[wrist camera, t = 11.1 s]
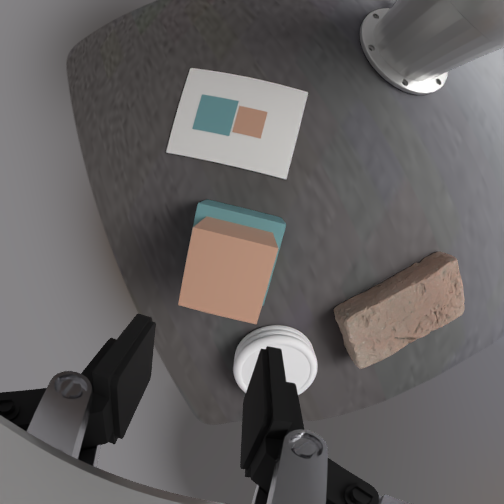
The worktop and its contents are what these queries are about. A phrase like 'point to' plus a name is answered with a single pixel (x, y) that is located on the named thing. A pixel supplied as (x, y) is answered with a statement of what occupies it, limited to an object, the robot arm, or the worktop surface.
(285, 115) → the page
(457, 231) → the worktop surface
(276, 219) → the base block
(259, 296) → the clay block
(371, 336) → the brick
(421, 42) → the robot arm
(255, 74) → the worktop surface
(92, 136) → the worktop surface
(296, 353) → the coaster
